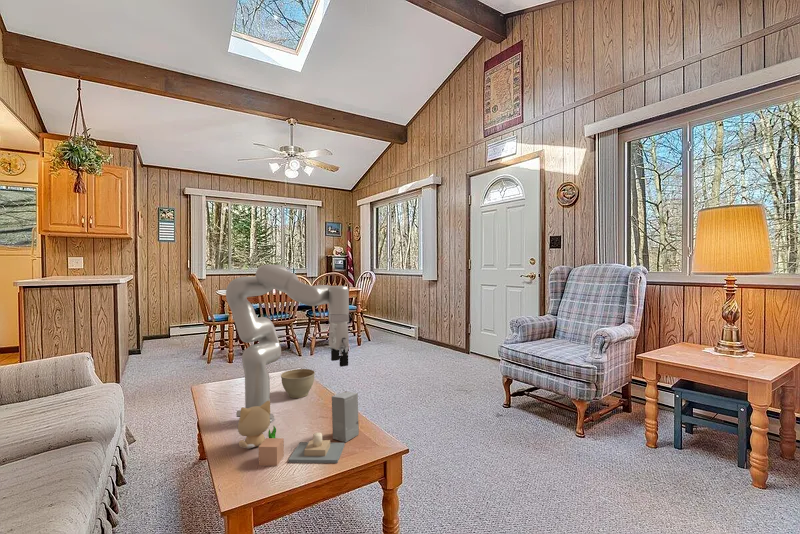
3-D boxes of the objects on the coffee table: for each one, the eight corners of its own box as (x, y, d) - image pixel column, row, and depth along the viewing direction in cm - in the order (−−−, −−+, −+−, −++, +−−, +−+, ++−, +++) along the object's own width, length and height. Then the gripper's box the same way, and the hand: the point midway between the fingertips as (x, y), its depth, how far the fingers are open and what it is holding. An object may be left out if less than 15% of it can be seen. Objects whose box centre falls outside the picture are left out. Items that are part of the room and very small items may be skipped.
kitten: (270, 433, 144) (269, 394, 144) (282, 442, 137) (281, 401, 137) (229, 446, 134) (228, 404, 134) (240, 457, 127) (239, 412, 127)
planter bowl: (279, 392, 191) (278, 371, 191) (311, 388, 198) (311, 367, 198) (283, 403, 176) (283, 379, 176) (318, 397, 183) (317, 375, 183)
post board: (288, 462, 123) (288, 442, 123) (300, 444, 135) (299, 426, 135) (337, 463, 122) (337, 443, 122) (344, 445, 134) (344, 427, 134)
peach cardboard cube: (258, 465, 121) (258, 446, 121) (266, 455, 127) (266, 438, 127) (277, 465, 121) (276, 446, 121) (283, 456, 127) (283, 438, 127)
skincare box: (345, 443, 136) (345, 399, 136) (330, 438, 139) (330, 395, 139) (360, 434, 143) (359, 392, 143) (345, 430, 147) (345, 389, 147)
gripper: (322, 316, 150) (323, 359, 150) (337, 321, 135) (337, 369, 135) (340, 315, 153) (341, 357, 154) (356, 320, 138) (357, 367, 138)
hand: (339, 363), depth 144 cm, fingers open, 9 cm apart
